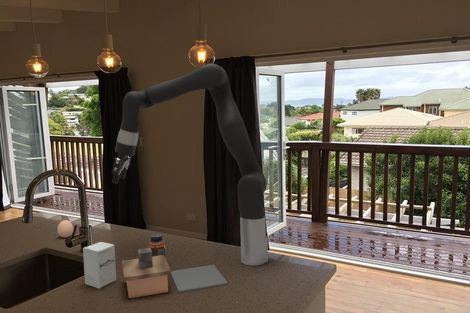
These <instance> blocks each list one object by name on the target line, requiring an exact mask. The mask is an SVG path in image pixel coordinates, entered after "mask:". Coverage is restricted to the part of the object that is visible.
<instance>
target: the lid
mask: <svg viewBox="0 0 470 313" xmlns="http://www.w3.org/2000/svg"><path fill="white" fill-rule="evenodd" d="M137 257H138V258H132V259H125V260H122V261H121V265H122V273H123V274H122V275H123V281H124V282H126V281H131V280H137V279H144V278H150V277H157V276H163V275H167V276H168V275H171V271H172V270H171V267H170V265H169V263H168V261H167V257H166V258H165V256H164V255H160V256H153V257H152V251H151V248H149V247H145V248H139V249H137Z"/></svg>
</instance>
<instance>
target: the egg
mask: <svg viewBox="0 0 470 313" xmlns="http://www.w3.org/2000/svg"><path fill="white" fill-rule="evenodd" d="M73 232H74V226H73V223H72V222H71V221H69V220H67V219H64V220H62V221H60V222H59V224H58V225H57V234H58V235H59V236H60V237H61V238H69V237H70V236H71V235H72V234H73Z"/></svg>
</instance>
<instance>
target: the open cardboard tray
mask: <svg viewBox="0 0 470 313" xmlns="http://www.w3.org/2000/svg"><path fill="white" fill-rule="evenodd" d="M168 278H169V276H168V275H163V276H157V277H150V278H144V279H137V280H131V281H125V282H126V289H127V295H128V299H133V298H138V297H145V296H150V295H156V294H162V293H163V294H164V293H168V292H169V282H168V281H169V279H168Z"/></svg>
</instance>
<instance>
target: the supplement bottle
mask: <svg viewBox="0 0 470 313" xmlns="http://www.w3.org/2000/svg"><path fill="white" fill-rule="evenodd" d="M148 248H151V251H152V257H153V256H160V255H164V256H165V258H166V259H167V256H166V254H167V253H166V252H167V251H166V241H165V240H164V238H163V235H162V234H161V233H154V234H151V236H150V240H149V241H148Z"/></svg>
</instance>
